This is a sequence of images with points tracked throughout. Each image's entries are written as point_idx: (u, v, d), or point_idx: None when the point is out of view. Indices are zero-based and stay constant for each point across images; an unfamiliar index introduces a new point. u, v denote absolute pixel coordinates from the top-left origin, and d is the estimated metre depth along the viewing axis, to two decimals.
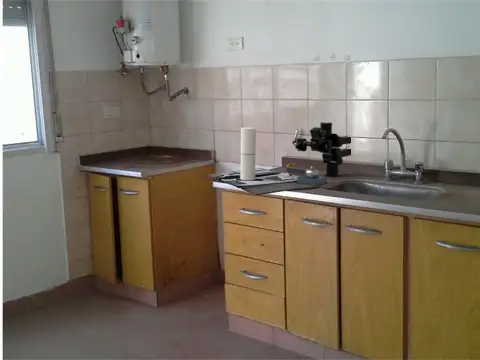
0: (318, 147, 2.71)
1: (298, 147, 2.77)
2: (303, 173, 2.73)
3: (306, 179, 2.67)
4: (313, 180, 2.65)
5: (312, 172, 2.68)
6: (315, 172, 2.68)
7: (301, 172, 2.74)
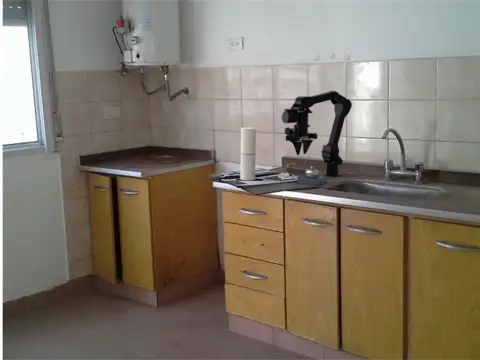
0: (296, 147, 2.78)
1: (305, 150, 2.83)
2: (303, 173, 2.73)
3: (306, 179, 2.67)
4: (313, 180, 2.65)
5: (312, 172, 2.68)
6: (315, 172, 2.68)
7: (301, 172, 2.74)
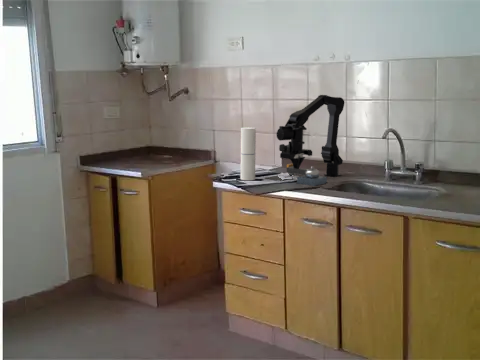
0: (294, 163, 2.78)
1: None
2: (303, 173, 2.73)
3: (306, 179, 2.67)
4: (313, 180, 2.65)
5: (312, 172, 2.68)
6: (315, 172, 2.68)
7: (301, 172, 2.74)
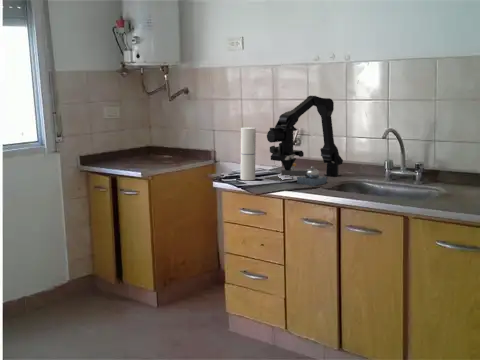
0: (286, 165, 2.73)
1: None
2: (302, 174, 2.71)
3: (306, 179, 2.67)
4: (313, 180, 2.65)
5: (316, 172, 2.68)
6: (318, 172, 2.69)
7: (300, 173, 2.71)
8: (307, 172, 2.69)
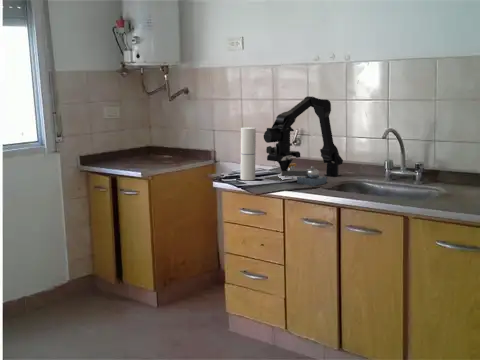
0: (282, 165, 2.71)
1: (284, 169, 2.72)
2: (303, 174, 2.70)
3: (306, 179, 2.67)
4: (313, 180, 2.65)
5: (317, 172, 2.68)
6: (318, 171, 2.70)
7: (300, 173, 2.70)
8: (308, 172, 2.68)
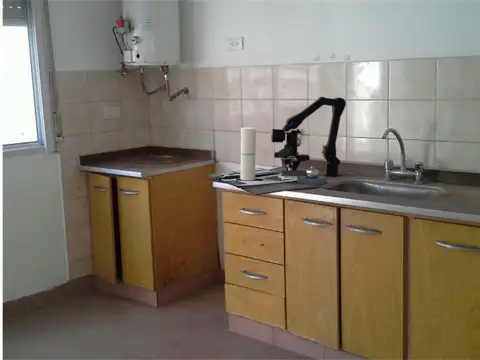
0: (296, 165, 2.90)
1: None
2: (303, 174, 2.70)
3: (306, 179, 2.67)
4: (313, 180, 2.65)
5: (317, 172, 2.68)
6: (318, 171, 2.70)
7: (300, 173, 2.70)
8: (308, 172, 2.68)
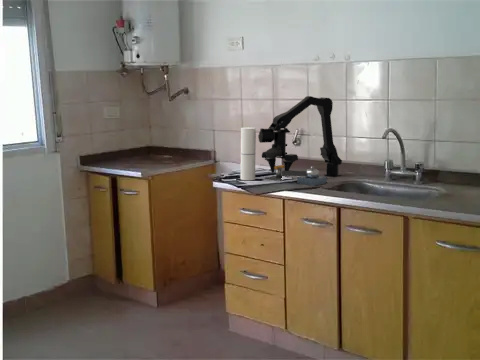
0: (288, 166, 2.79)
1: (273, 168, 2.86)
2: (303, 174, 2.70)
3: (306, 179, 2.67)
4: (313, 180, 2.65)
5: (317, 172, 2.68)
6: (318, 171, 2.70)
7: (300, 173, 2.70)
8: (308, 172, 2.68)
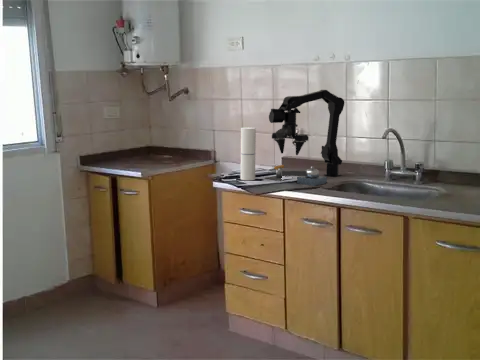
0: (299, 147, 2.78)
1: (282, 149, 2.85)
2: (303, 174, 2.70)
3: (306, 179, 2.67)
4: (313, 180, 2.65)
5: (317, 172, 2.68)
6: (318, 171, 2.70)
7: (300, 173, 2.70)
8: (308, 172, 2.68)
